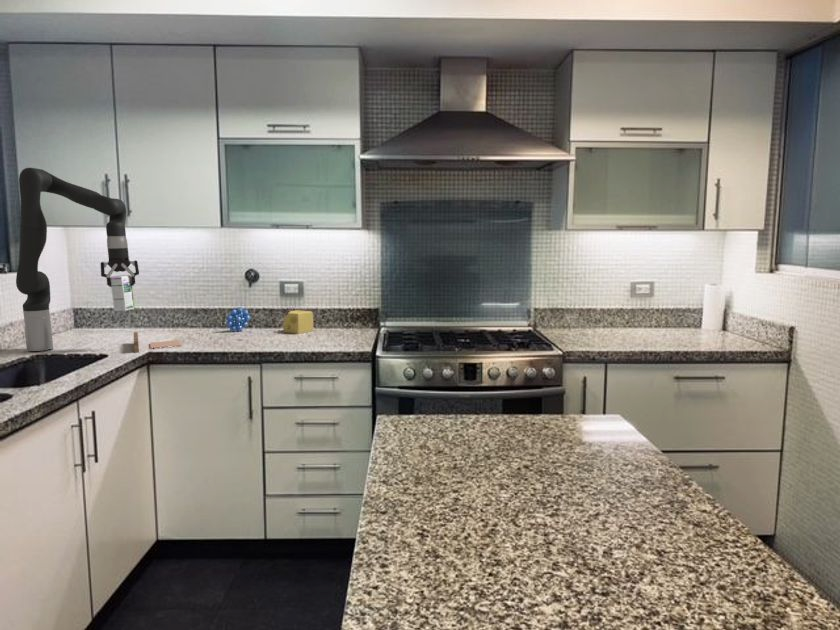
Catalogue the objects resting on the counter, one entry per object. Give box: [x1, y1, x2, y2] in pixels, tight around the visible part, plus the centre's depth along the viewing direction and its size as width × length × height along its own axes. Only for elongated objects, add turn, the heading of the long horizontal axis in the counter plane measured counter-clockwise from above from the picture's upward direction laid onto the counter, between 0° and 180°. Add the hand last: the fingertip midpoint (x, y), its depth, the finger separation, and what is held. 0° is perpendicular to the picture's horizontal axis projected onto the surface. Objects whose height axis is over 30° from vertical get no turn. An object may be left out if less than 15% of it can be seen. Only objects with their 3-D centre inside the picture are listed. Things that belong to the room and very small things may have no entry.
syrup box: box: [110, 274, 135, 312], centre depth 246 cm, size 6×6×14 cm
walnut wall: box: [133, 331, 140, 353], centre depth 251 cm, size 22×2×5 cm, turn 26°
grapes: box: [225, 307, 251, 332], centre depth 289 cm, size 12×7×12 cm, turn 114°
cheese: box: [283, 309, 314, 335], centre depth 287 cm, size 10×11×10 cm
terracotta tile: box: [149, 340, 182, 350], centre depth 256 cm, size 12×12×1 cm
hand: (121, 286), depth 246 cm, fingers closed on syrup box, 8 cm apart
